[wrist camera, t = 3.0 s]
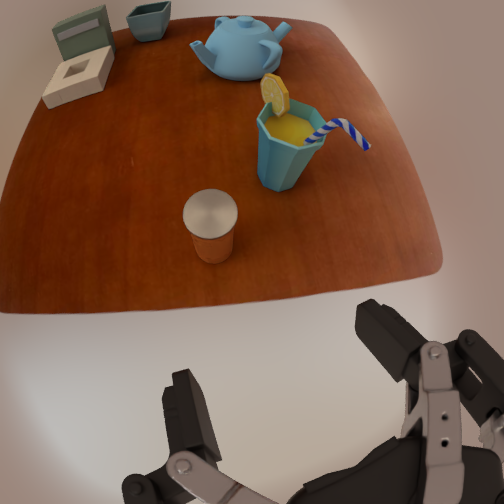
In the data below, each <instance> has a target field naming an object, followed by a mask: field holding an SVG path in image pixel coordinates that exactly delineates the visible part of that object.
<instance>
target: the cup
mask: <svg viewBox="0 0 504 504" xmlns="http://www.w3.org/2000/svg"><path fill="white" fill-rule="evenodd" d="M260 85H261V92H262V98H263V100H264V102H265V104H266V105H265V106H264V108H263V109H262V111H261V113H260V114H259V116H258V118H257V126H258V128H259V146H258V172H257V174H258V176H259V178H260V180H261V182H262V184H263V186H264V187H267V188H269V189H272V190H274V191H277V192H280V191H283V190H286V189H290V188H292V187H293V185H294V184H295V182H296V181H297V179H298V178H299V176H300V174H301V173H302V171H303V170H304V168H305V167H306V165H307V164H308V162H309V160H310V159H311V157H312V156H313V154H314V153H315V151H316V150H318V149H320V148H321V147H322V145H323V144H324V141H325V138H326V135H327V133H329V132H330V131H332V130H333V129H335V128H336V127H337V126H339V127H342V128H343V129H344V130H345V131H346V132H347V133H348V134H349V135H350V136H351V137H352V138H353V139H354V140H355V141H356V142H357V143H358V144H359V146H360V147H361V148H362V149H363V150H364V151H366V150H367V149H369V148H370V147H371V145H370V144H369V143H368V141H367V140H366V139H365V138H364V137H363V136H362V135H361V134H360V133H359V132H358V131H357V129H356V128H355V127H354V126H353V125H352V124H351V123H350V122H349V121H348V120H346V119H341V118H338V119H332V120H330V121H329V122H328V123H326V122H325V120H324V119H323V118H322V116H321V115H320V114H319V113H318V111H317V110H316V109H315V108H314V107H311V106H309V105H306V104H303V103H301V102H298V101H295V100H293V99H289V92H288V90H287V89H286V87H285V85H284V83H283V82H282V80H281V78H280V77H279V76H276V75H274V74H271V73H268V74H265V75H264V77H263V78H262V80H261V82H260Z"/></svg>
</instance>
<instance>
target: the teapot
mask: <svg viewBox="0 0 504 504" xmlns="http://www.w3.org/2000/svg"><path fill="white" fill-rule="evenodd" d="M291 29H292V27H291V26H290V25H288V24H287V23H285V22H282V23H281V24H280V25H279V26H278V27H277V28H276V29H275V30H274V31H273V32H272V30H271V29H270V28H269V26H268V25H266V24H265V23H263V22H261V21H258V20H254V18H252V17H250V16H239V17H237V18H236V19H229V18H228V17H220V18H217V19H216V21H215V30H214V32H213V33H212V34H211V35H210V37H209V38H208V40H207V42H206V44H205V46H204V45H203V44H202V42H200V41H195V42H193V43H191V44H190V47H191V48H192V49H193V51H194V52H195V54H196V55H197V56H198V58H199V59H200V61H201V62H202V64H204V65H206V67H207V68H209V69H210V70H211V71H212V72H213V73H215V74H217V75H218V76H220V77H223V78H225V79H229V80H235V81H251V80H257V79H260V78H263V77H264V75H265V74H268V73H272V72H273V71H275V70H276V69H277V68H278V66H279V64H280V59H281V55H282V47H281V46H280V45H279V44H278V43H279V42H280V41H281V40H282V39H283V38H284V37H285V35H286V34H287V33H288V32H289V31H290V30H291Z"/></svg>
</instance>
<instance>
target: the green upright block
mask: <svg viewBox="0 0 504 504" xmlns="http://www.w3.org/2000/svg"><path fill="white" fill-rule="evenodd" d="M52 31H53V34H54V37H55V40H56V42H57V45H58V47H59V50H60V52H61V55H62V57H63V60H64V61H67V60H69V59H72V58H75V57H77V56H80V55H82V54H85V53H88V52H91V51H94V50H97V49H100V48H103V47H107V46H110V45H111V47H112V51H113V54H114V53H115V51H116V47H115V43H114V39H113V36H112V32H111V27H110V23H109V19H108V15H107V10H106V6H105V5H102V6H99V7H96V8H93V9H90V10H88V11H85V12H82V13H80V14H77V15H74V16H72V17H70V18H67V19H65V20H63V21H60V22H58V23H57V24H56V25H55V26H54V27H53V29H52Z"/></svg>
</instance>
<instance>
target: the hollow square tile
mask: <svg viewBox="0 0 504 504" xmlns="http://www.w3.org/2000/svg"><path fill="white" fill-rule="evenodd" d="M113 61H114V54H113V51H112V47H111V45H110V46H107V47H103V48H100V49H97V50H94V51H91V52H88V53H85V54H82V55H80V56H77V57H75V58H72V59H69V60H67V61H64V62H62V63H60V65H59V67H58V68H57V70H56V72H55V73H54V75H53V77H52V79H51V81H50V82H49V84H48V86H47V88H46V90H45V92H44V94H43V96H42V98H43V100H44V102H45V104H46V105H47V107H48V109H51V108H54V107H56V106H59V105H61V104H64V103H67V102H70V101H72V100H75V99H78V98H81V97H84V96H87V95H90V94H93V93H97V92H100V91H103V89H104V86H105V83H106V80H107V77H108V75H109V72H110V69H111V66H112V64H113Z"/></svg>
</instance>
